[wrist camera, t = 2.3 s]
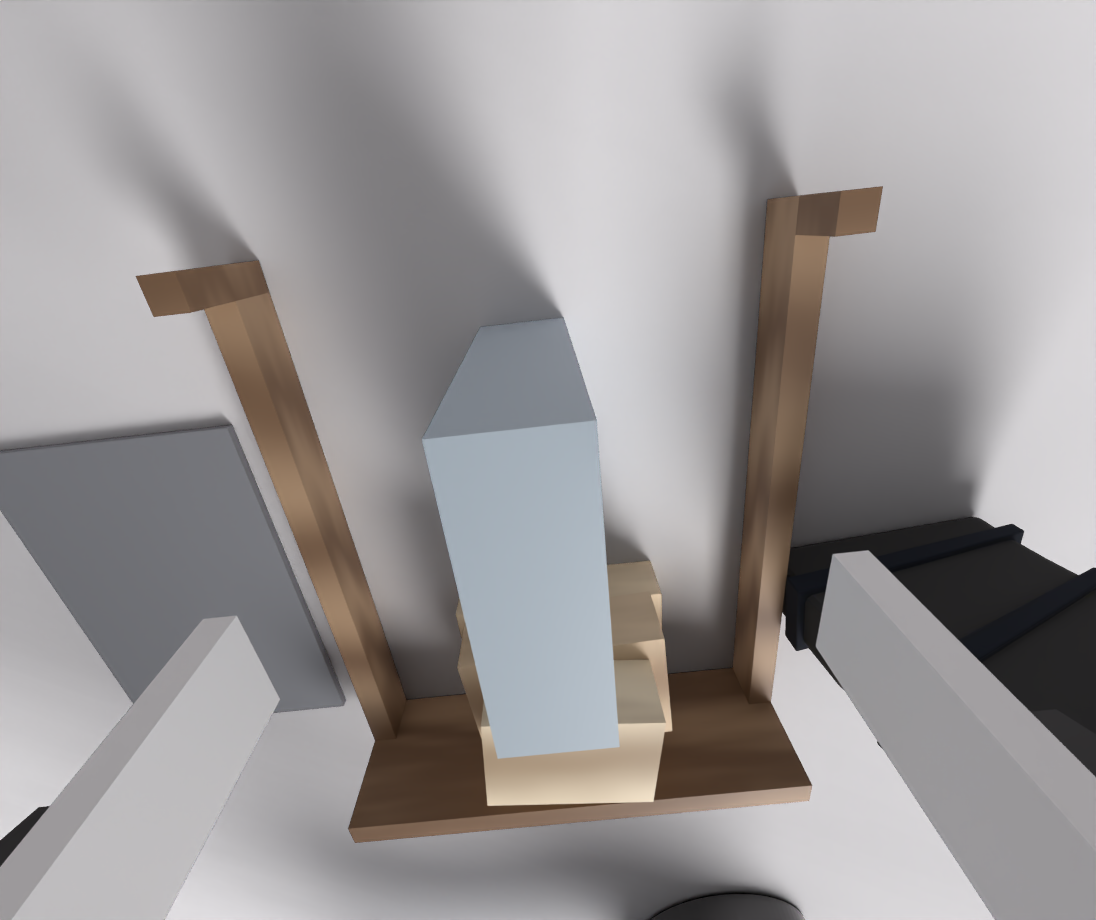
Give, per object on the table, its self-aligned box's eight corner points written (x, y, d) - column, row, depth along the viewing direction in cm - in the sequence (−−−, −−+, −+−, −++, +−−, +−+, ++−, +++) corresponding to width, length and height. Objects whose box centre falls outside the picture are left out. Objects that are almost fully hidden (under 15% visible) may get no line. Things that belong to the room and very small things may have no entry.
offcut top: (639, 735, 24) (653, 801, 21) (492, 738, 23) (487, 806, 21) (649, 659, 21) (665, 722, 19) (487, 662, 21) (480, 726, 19)
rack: (751, 679, 30) (809, 800, 24) (391, 715, 31) (355, 842, 24) (799, 195, 19) (933, 180, 12) (228, 263, 19) (80, 283, 13)
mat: (345, 700, 30) (343, 706, 30) (152, 719, 30) (148, 725, 30) (232, 424, 22) (227, 428, 22) (-27, 453, 22) (-36, 457, 22)
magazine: (716, 576, 24) (1181, 892, 12) (886, 478, 29) (1352, 632, 16) (719, 632, 26) (1131, 963, 13) (880, 531, 30) (1300, 708, 18)
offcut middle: (658, 678, 26) (672, 730, 24) (492, 701, 27) (487, 755, 24) (649, 591, 24) (664, 638, 21) (465, 618, 24) (457, 668, 21)
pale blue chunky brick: (582, 519, 25) (619, 746, 14) (513, 527, 25) (497, 758, 14) (563, 317, 21) (597, 420, 10) (480, 326, 21) (421, 439, 10)
